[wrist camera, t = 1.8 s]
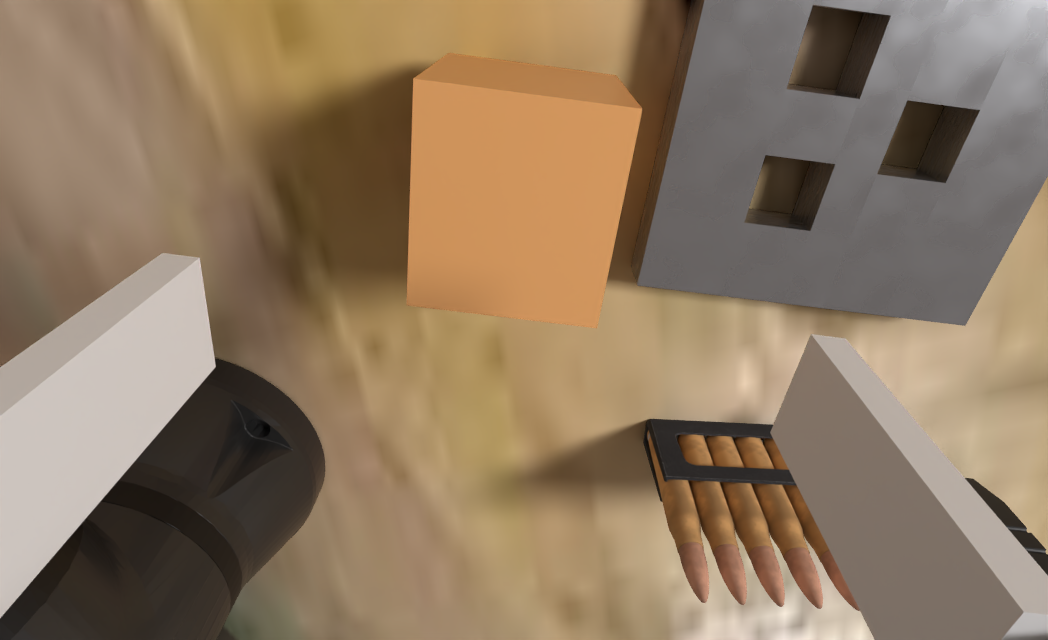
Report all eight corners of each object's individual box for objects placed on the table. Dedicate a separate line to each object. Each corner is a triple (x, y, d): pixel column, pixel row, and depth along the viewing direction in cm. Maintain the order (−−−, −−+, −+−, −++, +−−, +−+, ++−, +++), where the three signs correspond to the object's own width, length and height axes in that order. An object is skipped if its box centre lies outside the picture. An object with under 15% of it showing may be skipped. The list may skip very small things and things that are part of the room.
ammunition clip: (642, 441, 38) (679, 614, 28) (646, 418, 37) (686, 587, 27) (811, 449, 38) (913, 625, 28) (819, 426, 37) (927, 599, 27)
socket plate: (631, 265, 32) (637, 285, 30) (718, -122, 24) (735, -132, 22) (938, 304, 33) (965, 325, 31) (1126, -62, 25) (1181, -66, 23)
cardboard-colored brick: (444, 215, 31) (406, 305, 23) (454, 48, 27) (413, 78, 19) (582, 232, 32) (596, 328, 23) (611, 69, 28) (642, 108, 19)
